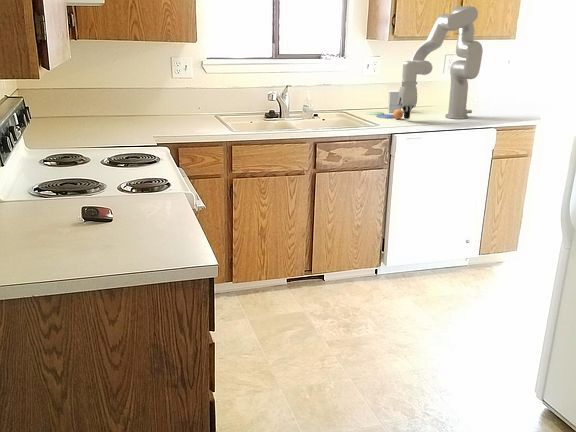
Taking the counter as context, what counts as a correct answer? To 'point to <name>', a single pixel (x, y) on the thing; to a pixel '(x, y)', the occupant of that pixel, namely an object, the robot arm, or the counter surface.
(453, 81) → the robot arm
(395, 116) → the ball
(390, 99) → the supplement box
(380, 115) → the navy disc
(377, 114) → the green far disc
